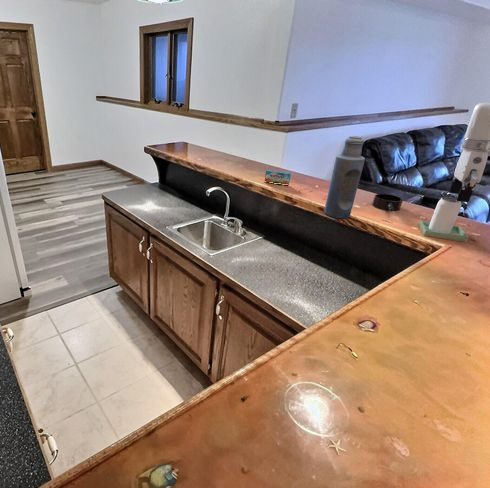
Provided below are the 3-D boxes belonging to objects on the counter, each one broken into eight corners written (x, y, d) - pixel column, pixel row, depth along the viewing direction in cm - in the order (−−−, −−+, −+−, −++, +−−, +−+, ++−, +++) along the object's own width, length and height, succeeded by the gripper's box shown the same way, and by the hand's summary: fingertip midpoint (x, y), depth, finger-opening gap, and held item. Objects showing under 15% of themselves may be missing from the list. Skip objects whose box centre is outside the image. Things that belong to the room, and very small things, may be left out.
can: (427, 226, 128) (439, 195, 122) (449, 230, 125) (462, 198, 119) (428, 232, 123) (440, 200, 117) (450, 236, 120) (464, 203, 114)
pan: (397, 204, 150) (400, 195, 148) (404, 219, 135) (407, 209, 133) (371, 201, 154) (374, 192, 152) (375, 215, 138) (377, 205, 137)
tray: (458, 231, 125) (460, 226, 124) (466, 242, 117) (468, 237, 116) (418, 225, 130) (419, 220, 129) (423, 235, 121) (425, 230, 121)
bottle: (330, 218, 134) (349, 138, 121) (319, 209, 143) (336, 134, 130) (354, 218, 135) (376, 139, 121) (342, 209, 144) (361, 134, 130)
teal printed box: (264, 182, 177) (265, 170, 175) (265, 182, 179) (266, 170, 176) (288, 186, 172) (290, 174, 169) (289, 185, 173) (291, 173, 171)
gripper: (502, 150, 101) (480, 206, 108) (482, 141, 115) (464, 191, 123) (470, 148, 104) (451, 203, 111) (454, 140, 118) (438, 189, 125)
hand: (458, 197), depth 117 cm, fingers open, 9 cm apart
